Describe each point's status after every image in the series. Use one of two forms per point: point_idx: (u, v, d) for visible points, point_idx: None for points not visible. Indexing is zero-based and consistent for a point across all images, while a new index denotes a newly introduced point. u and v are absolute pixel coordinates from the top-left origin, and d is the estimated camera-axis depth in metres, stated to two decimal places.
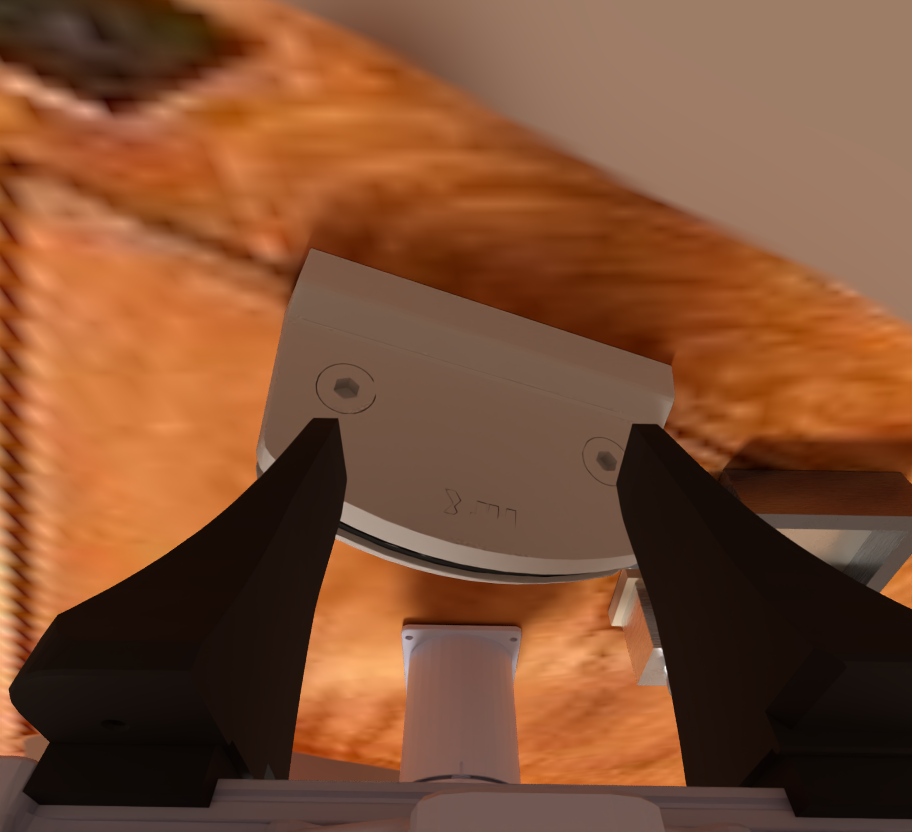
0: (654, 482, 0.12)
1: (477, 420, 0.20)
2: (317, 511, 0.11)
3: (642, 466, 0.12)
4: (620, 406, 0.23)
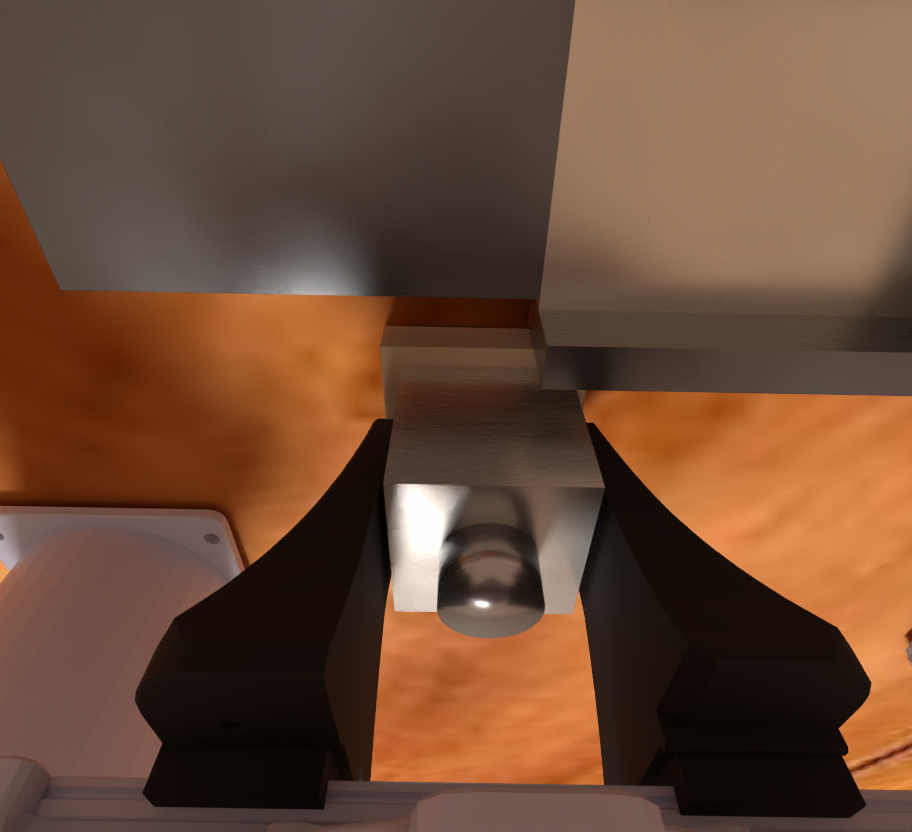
0: None
1: None
2: None
3: None
4: None
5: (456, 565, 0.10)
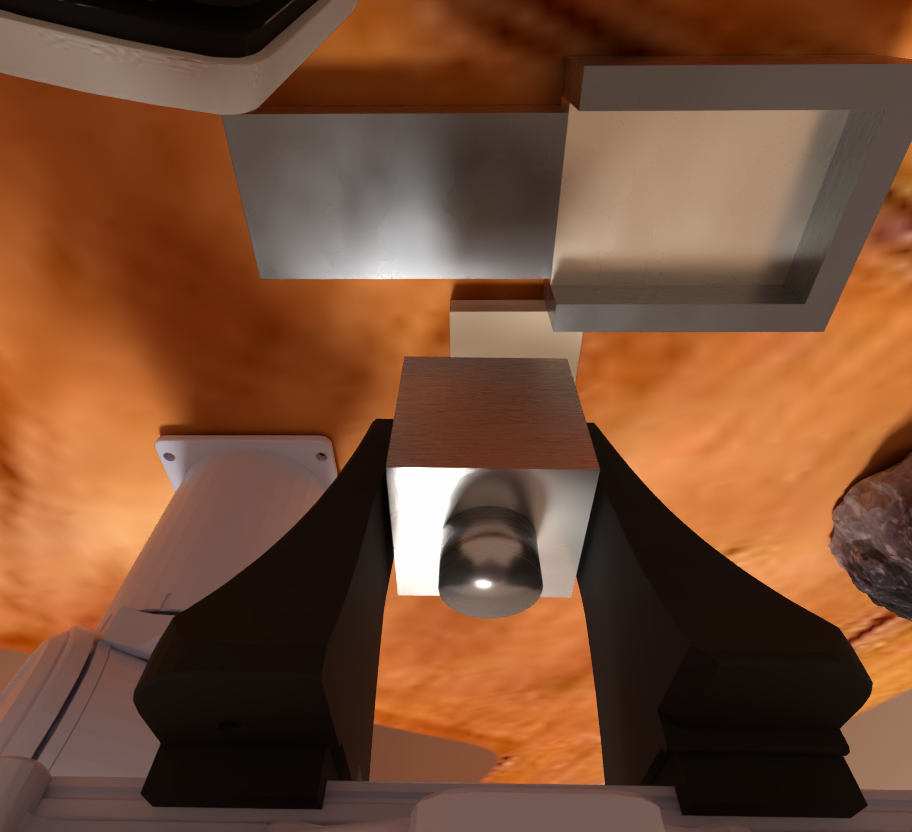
0: None
1: None
2: (388, 512, 0.11)
3: None
4: None
5: (456, 546, 0.10)
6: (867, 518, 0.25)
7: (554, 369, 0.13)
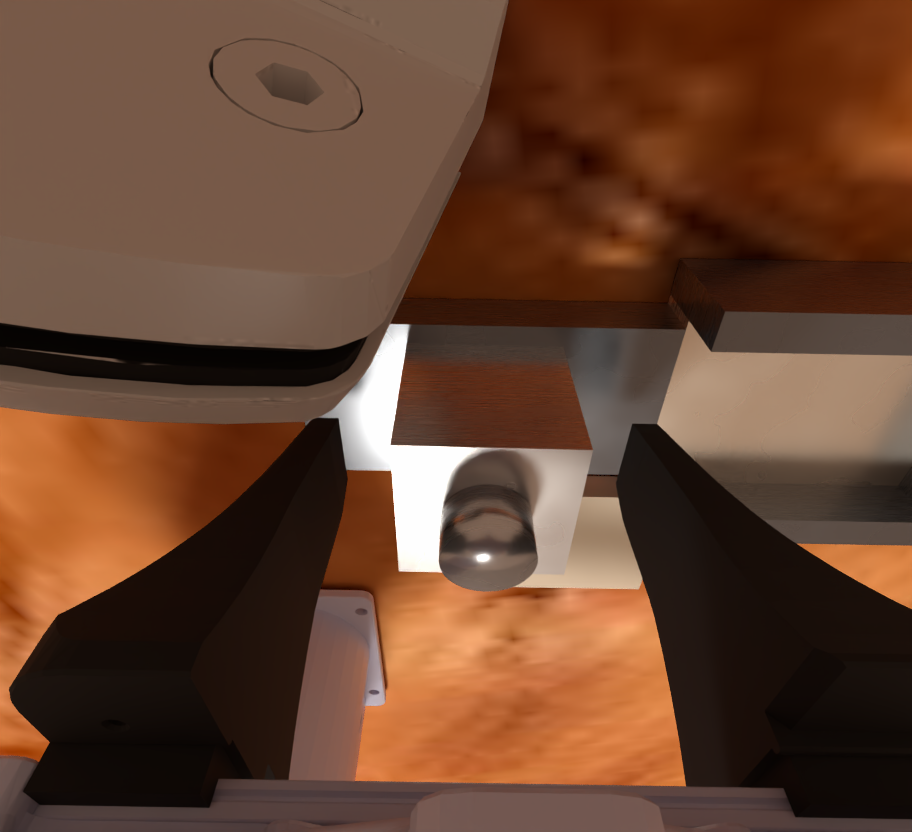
0: (654, 482, 0.12)
1: None
2: (317, 511, 0.11)
3: (642, 466, 0.12)
4: (369, 3, 0.09)
5: (456, 521, 0.11)
6: None
7: (551, 357, 0.13)
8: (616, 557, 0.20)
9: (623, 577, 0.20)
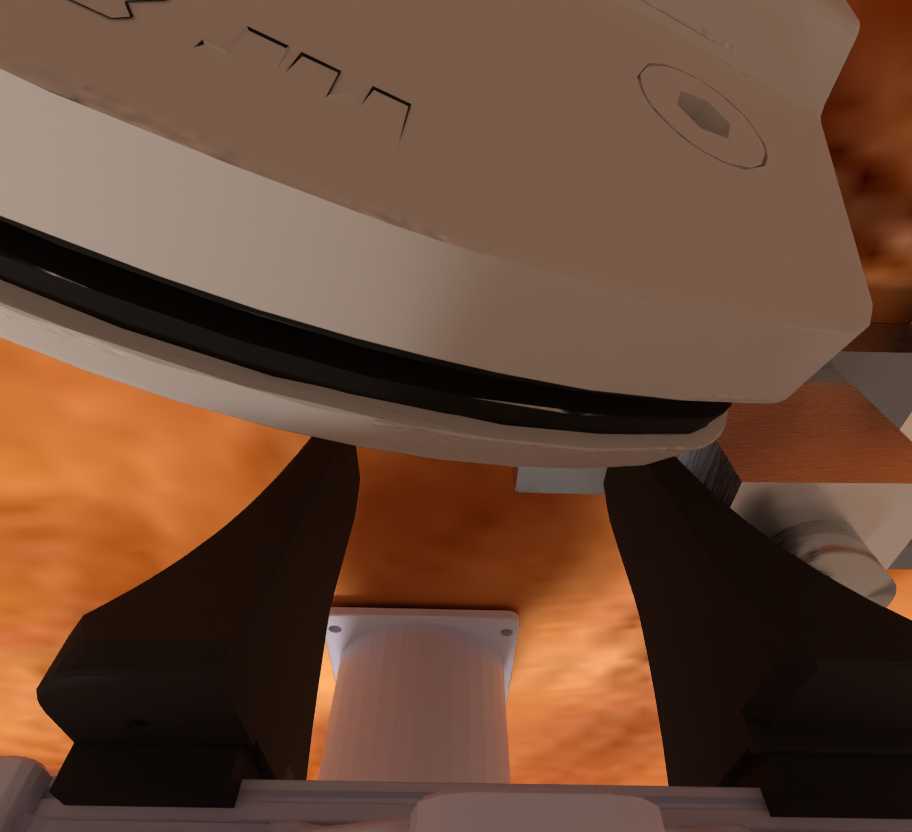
0: (638, 482, 0.12)
1: None
2: (332, 511, 0.11)
3: (627, 466, 0.12)
4: (727, 27, 0.09)
5: (809, 561, 0.10)
6: None
7: (831, 379, 0.13)
8: None
9: None
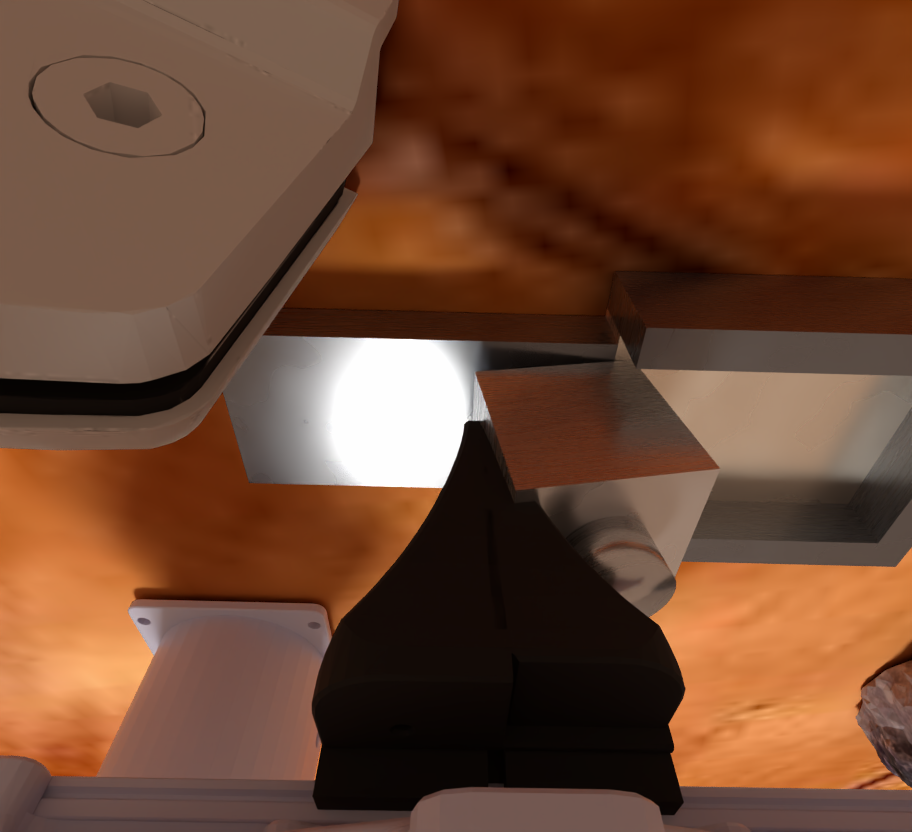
0: None
1: None
2: None
3: None
4: (232, 23, 0.09)
5: (591, 561, 0.10)
6: (901, 712, 0.24)
7: (626, 372, 0.13)
8: None
9: None
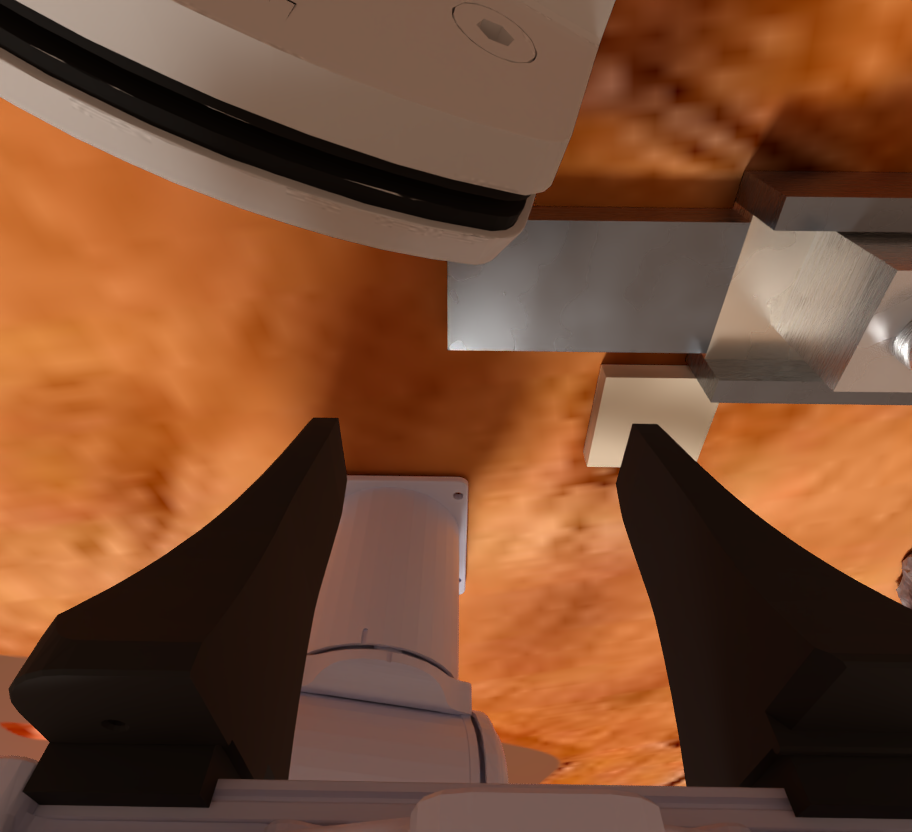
0: (654, 482, 0.12)
1: None
2: (317, 511, 0.11)
3: (642, 466, 0.12)
4: None
5: None
6: None
7: None
8: (678, 436, 0.24)
9: None
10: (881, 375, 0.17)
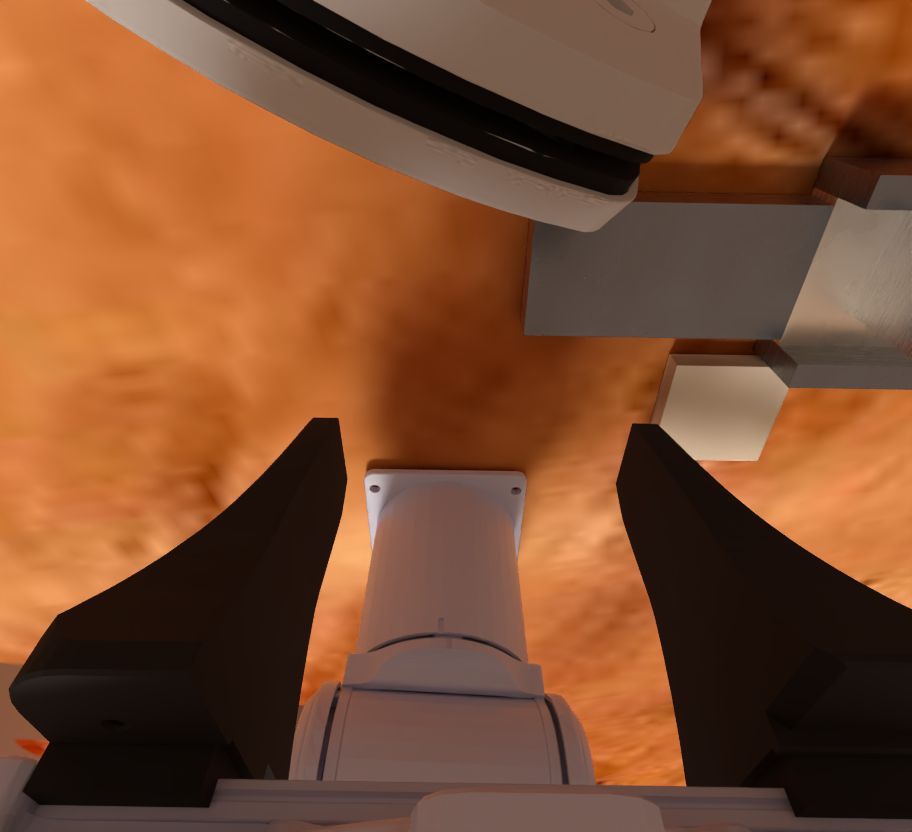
0: (654, 482, 0.12)
1: None
2: (317, 511, 0.11)
3: (642, 466, 0.12)
4: None
5: None
6: None
7: None
8: (743, 427, 0.24)
9: (746, 448, 0.25)
10: None
